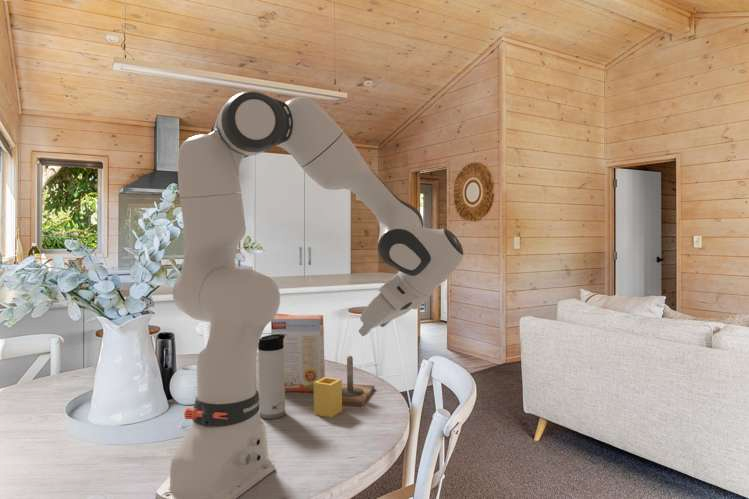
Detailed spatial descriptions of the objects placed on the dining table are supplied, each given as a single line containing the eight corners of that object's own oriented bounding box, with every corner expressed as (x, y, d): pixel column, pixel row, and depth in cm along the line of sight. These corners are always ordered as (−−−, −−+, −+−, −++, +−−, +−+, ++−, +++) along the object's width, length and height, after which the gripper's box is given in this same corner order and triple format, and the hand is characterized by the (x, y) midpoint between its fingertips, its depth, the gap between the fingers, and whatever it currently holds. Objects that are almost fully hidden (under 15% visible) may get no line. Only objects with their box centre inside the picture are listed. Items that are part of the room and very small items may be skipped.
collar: (331, 417, 127) (330, 385, 126) (314, 414, 129) (313, 382, 129) (342, 411, 131) (341, 379, 131) (325, 407, 134) (324, 376, 133)
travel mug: (280, 420, 126) (279, 337, 124) (255, 418, 127) (253, 337, 126) (290, 410, 132) (288, 332, 131) (265, 409, 133) (263, 331, 132)
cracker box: (325, 386, 151) (324, 314, 150) (321, 392, 145) (320, 318, 144) (278, 385, 153) (276, 314, 152) (272, 391, 147) (270, 318, 146)
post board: (361, 406, 134) (361, 363, 134) (324, 403, 137) (323, 361, 136) (374, 388, 148) (373, 350, 147) (340, 386, 150) (339, 348, 150)
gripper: (417, 273, 128) (383, 310, 133) (378, 285, 110) (340, 327, 115) (435, 292, 126) (399, 329, 131) (398, 308, 108) (359, 349, 113)
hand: (371, 328), depth 123 cm, fingers open, 8 cm apart
